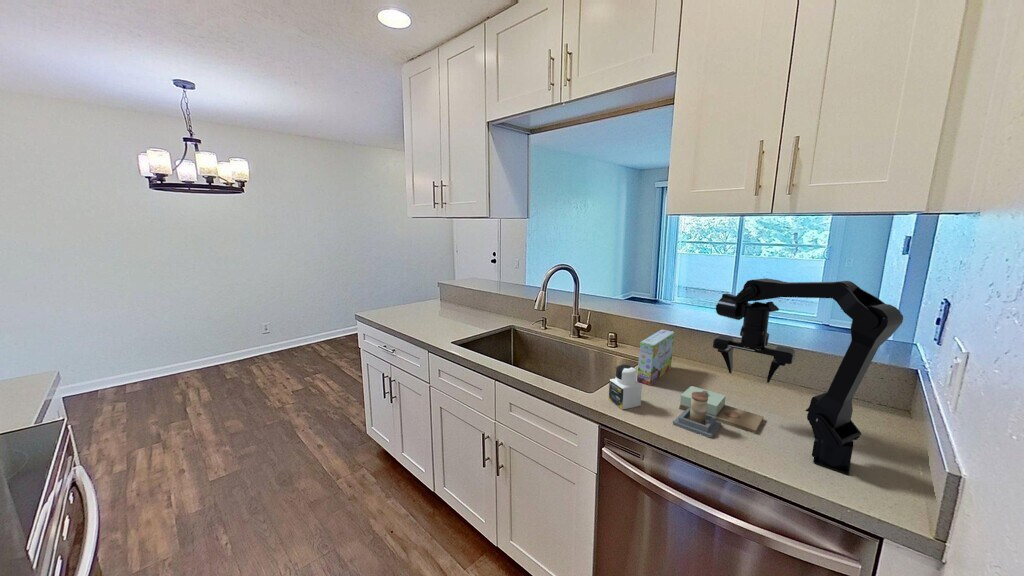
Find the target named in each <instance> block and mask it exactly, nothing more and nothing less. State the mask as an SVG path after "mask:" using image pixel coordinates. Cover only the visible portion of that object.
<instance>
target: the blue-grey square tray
mask: <svg viewBox="0 0 1024 576" xmlns="http://www.w3.org/2000/svg"><path fill="white" fill-rule="evenodd" d="M690 410H691V409H690V408H688V409H687V410H686V411H685V410H682V412H681V413H680V414H679V415H678V416H677V417H676V419H674V420H673V422H672V425H673V426H676V427H679V428H682V429H685V430H687V431H690V432H693V433H695V434H697V435H698V434H699V435H700V434H701V435H700V436H703V437H707V438H709V439H712V438H714V436H715V434H716V433H717V431H719V428H720V427H721V426H722V423H721V422H718V421H716V417H715V416H712V415H709V414H706V422H705V425H703V424H700V423H697V422H694V421H691V420H690Z"/></svg>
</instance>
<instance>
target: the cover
mask: <svg viewBox="0 0 1024 576" xmlns="http://www.w3.org/2000/svg"><path fill="white" fill-rule="evenodd" d="M692 392H702V393H705V394H707V395H708V401H707V412H706V413H708V414H711V415H714V416H716V415H717V414H718V413H719V411H720V410H721V409H722V408H723V406H724V405H726V395H725V394H724V395H723V394H721V393H717V392H714V391H710V390H706V389H704V388H700V387H696V386H694V385H693V386H692V385H690V386H689V387H688V388H687V389H685V391H684V392H683V393H682V394H681V395H680V401H679V402H680V404H679V406H680V405H683V406H687V407H690V408H691V398H692V397H691V396H692Z"/></svg>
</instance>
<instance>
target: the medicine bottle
mask: <svg viewBox="0 0 1024 576" xmlns="http://www.w3.org/2000/svg"><path fill="white" fill-rule="evenodd" d="M615 369H616V370H615V378H610V379H609V386H608V387H609V389H608V400H609V401H610V402H611V403H613V404H614V405H615V406H617V407H618V408H619V409H621V410H622V411H623V410H627V409H632V408H636V407H640V406H641V405H642V392H643V391H642V389H643V385H642V383H641V382H637V372H638V369H637V368H636V367H634V366H632V365H630V364H620V365H618V366H616V368H615Z"/></svg>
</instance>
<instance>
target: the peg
mask: <svg viewBox="0 0 1024 576" xmlns="http://www.w3.org/2000/svg"><path fill="white" fill-rule="evenodd" d="M691 397H692V398H691V410H690V420H691V421H694V422H697V423H700V424H703V425H705V422H706V412H707V401H708V395H707V394H705V393H702V392H692V396H691Z"/></svg>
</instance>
